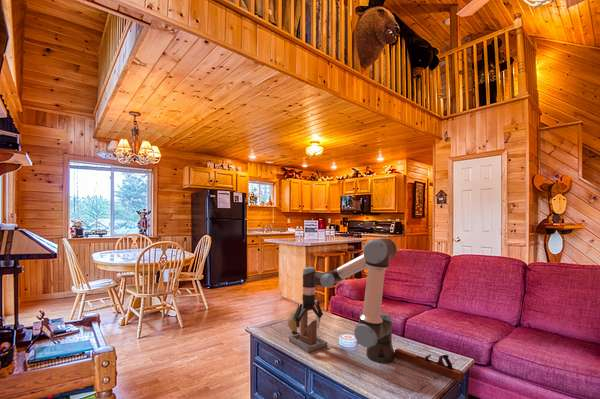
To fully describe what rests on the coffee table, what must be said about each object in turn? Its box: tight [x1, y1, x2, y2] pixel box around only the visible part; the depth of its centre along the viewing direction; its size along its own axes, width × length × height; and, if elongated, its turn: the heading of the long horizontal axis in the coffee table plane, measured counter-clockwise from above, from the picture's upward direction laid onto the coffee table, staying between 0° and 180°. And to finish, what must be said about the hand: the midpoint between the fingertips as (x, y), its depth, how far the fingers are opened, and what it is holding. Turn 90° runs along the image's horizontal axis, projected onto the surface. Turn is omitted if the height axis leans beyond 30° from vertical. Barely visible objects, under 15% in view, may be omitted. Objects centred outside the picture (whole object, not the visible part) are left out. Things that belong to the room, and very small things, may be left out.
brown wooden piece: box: [299, 310, 318, 345], centre depth 184 cm, size 4×11×18 cm, turn 41°
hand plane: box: [394, 347, 465, 383], centre depth 158 cm, size 34×5×10 cm, turn 46°
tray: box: [288, 331, 328, 354], centre depth 183 cm, size 19×14×3 cm
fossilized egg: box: [286, 307, 302, 333], centre depth 203 cm, size 13×13×15 cm
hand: (308, 330), depth 183 cm, fingers open, 13 cm apart
